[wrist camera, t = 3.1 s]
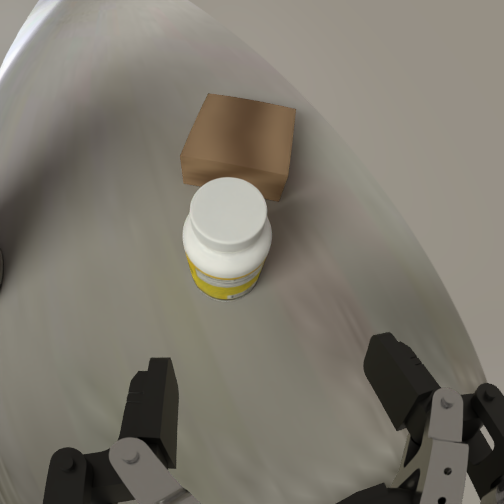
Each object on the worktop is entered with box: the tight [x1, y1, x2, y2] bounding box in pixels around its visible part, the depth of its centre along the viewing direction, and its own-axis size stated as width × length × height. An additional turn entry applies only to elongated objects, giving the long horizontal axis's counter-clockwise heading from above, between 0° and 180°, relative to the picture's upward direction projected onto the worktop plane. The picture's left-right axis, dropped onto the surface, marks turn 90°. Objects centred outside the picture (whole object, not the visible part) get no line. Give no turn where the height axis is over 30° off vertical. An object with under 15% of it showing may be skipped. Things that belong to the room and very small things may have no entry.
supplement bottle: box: [183, 177, 272, 301], centre depth 19 cm, size 5×5×10 cm
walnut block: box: [180, 93, 296, 202], centre depth 27 cm, size 9×9×4 cm
